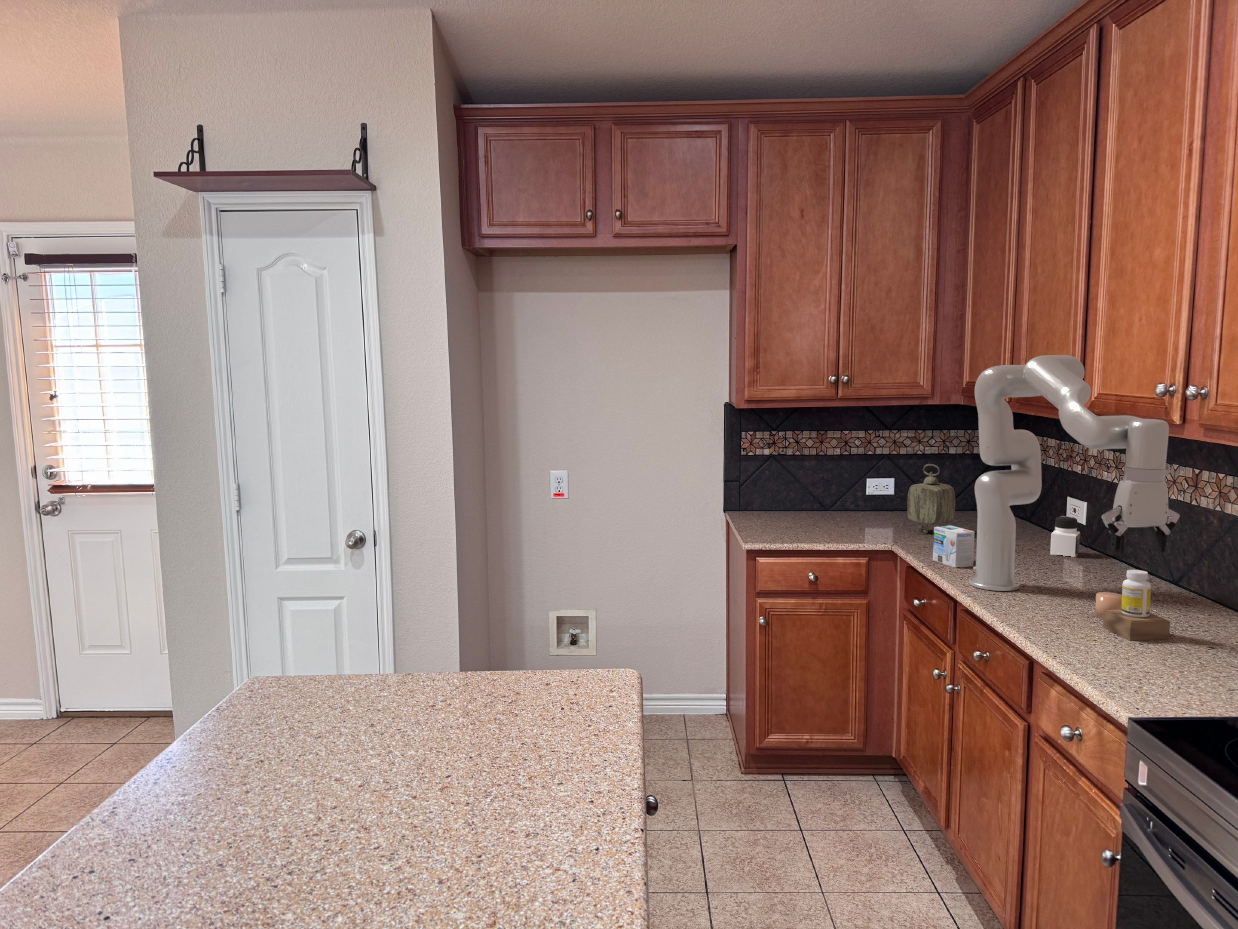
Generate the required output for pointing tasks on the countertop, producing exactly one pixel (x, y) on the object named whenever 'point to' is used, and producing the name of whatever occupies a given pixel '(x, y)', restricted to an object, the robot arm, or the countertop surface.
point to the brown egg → (1107, 602)
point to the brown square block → (1136, 626)
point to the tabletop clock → (931, 502)
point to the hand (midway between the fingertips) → (1137, 551)
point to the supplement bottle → (1136, 594)
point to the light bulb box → (953, 546)
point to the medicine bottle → (1065, 537)
